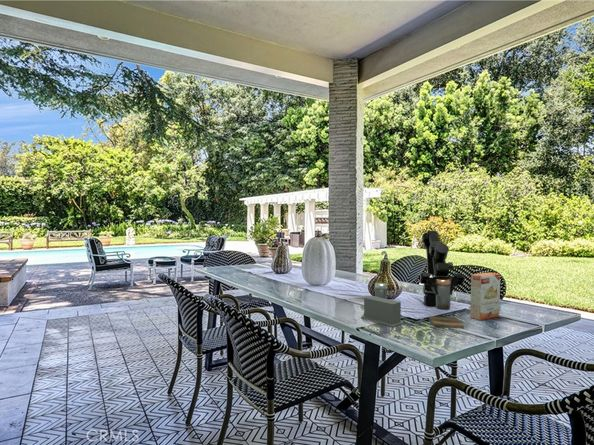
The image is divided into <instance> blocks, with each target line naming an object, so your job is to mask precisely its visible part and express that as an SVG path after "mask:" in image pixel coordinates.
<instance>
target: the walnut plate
mask: <svg viewBox="0 0 594 445" xmlns="http://www.w3.org/2000/svg"><path fill="white" fill-rule="evenodd" d="M428 318H429V321H430V322H431V324H432V325H433V327H434V328H450V329H451V328H453V329H464V328H465V327H464V326H465V325H464V324H463V323H462V322H461V321H460V320H459V319H458V317H454V316H453V317H451V316H428Z"/></svg>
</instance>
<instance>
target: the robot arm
mask: <svg viewBox="0 0 594 445" xmlns="http://www.w3.org/2000/svg"><path fill="white" fill-rule="evenodd" d="M439 237H440V234H439V233H438V231H437V230H427V231H426V232H424V233H422V236H421V242H422V245H423V248H424V249H425V250H426V267H427V268H426V272H420V276H419V283H420V284H423V285H422V286H423V287H422V293H423V295H424V296H423V304H424V305H425V306H427V307H436V295H437V290H436V279H438V278H444V279H450V280H451V291H450V296H452V295H453V291H454V287H457V286H463V284H464V282H465V275H464V274H463V273H457V272H456V273H454V274H453V276H450V275H449V274H450V271H451V270H454V264H453V263H454V262H453V261H449V262H446V260H447V257H448V253H449V251H450V250H449V246H448V245H447V244H444V241H441V240H440V238H439Z"/></svg>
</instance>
